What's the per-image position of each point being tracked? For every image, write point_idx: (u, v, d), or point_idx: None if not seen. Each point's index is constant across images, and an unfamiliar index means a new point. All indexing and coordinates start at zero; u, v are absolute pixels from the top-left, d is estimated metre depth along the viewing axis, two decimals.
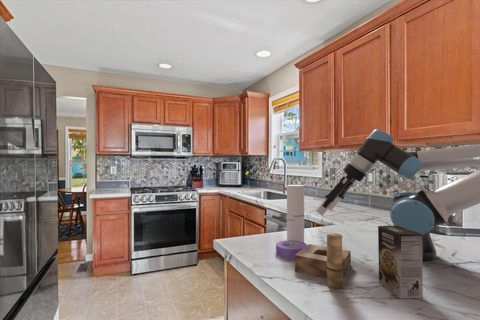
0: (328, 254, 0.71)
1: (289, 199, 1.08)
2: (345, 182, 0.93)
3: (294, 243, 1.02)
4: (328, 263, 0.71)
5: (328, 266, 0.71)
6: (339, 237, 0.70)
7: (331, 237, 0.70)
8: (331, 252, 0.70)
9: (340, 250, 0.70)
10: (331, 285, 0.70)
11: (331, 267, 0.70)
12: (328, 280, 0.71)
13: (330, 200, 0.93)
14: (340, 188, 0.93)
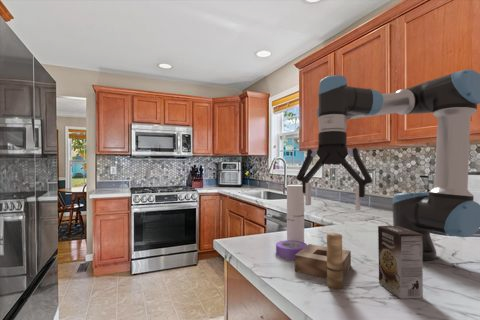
0: (328, 254, 0.71)
1: (289, 199, 1.08)
2: None
3: (294, 243, 1.02)
4: (328, 263, 0.71)
5: (328, 266, 0.71)
6: (339, 237, 0.70)
7: (331, 237, 0.70)
8: (331, 252, 0.70)
9: (340, 250, 0.70)
10: (331, 285, 0.70)
11: (331, 267, 0.70)
12: (328, 280, 0.71)
13: None
14: (362, 162, 0.70)
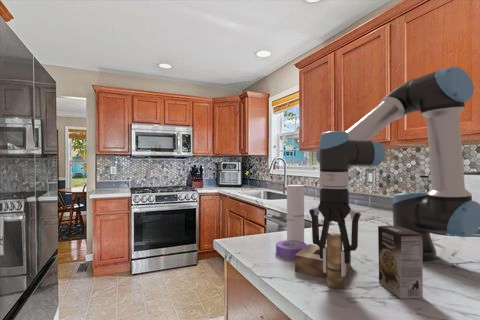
0: (328, 254, 0.71)
1: (289, 199, 1.08)
2: None
3: (294, 243, 1.02)
4: (328, 263, 0.71)
5: (328, 266, 0.71)
6: (339, 237, 0.70)
7: (331, 237, 0.70)
8: (331, 252, 0.70)
9: (340, 250, 0.70)
10: (331, 285, 0.70)
11: (331, 267, 0.70)
12: (328, 280, 0.71)
13: None
14: (357, 228, 0.69)
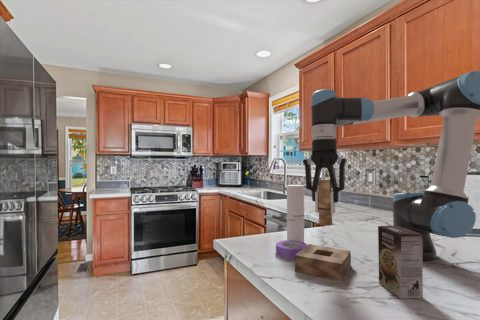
0: (319, 196, 0.82)
1: (289, 199, 1.08)
2: (345, 163, 0.81)
3: (294, 243, 1.02)
4: (319, 204, 0.82)
5: (319, 206, 0.82)
6: (329, 180, 0.81)
7: (322, 181, 0.82)
8: (322, 194, 0.82)
9: (329, 192, 0.81)
10: (322, 222, 0.81)
11: (322, 206, 0.81)
12: (320, 218, 0.82)
13: (341, 190, 0.81)
14: (344, 172, 0.81)
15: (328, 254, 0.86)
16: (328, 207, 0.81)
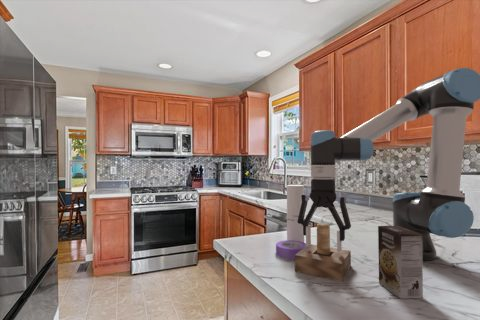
0: (318, 241, 0.84)
1: (289, 199, 1.08)
2: (345, 201, 0.81)
3: (294, 243, 1.02)
4: (318, 249, 0.83)
5: (318, 251, 0.83)
6: (327, 226, 0.82)
7: (320, 227, 0.83)
8: (320, 239, 0.83)
9: (328, 237, 0.82)
10: None
11: (320, 252, 0.83)
12: None
13: None
14: (346, 210, 0.81)
15: None
16: (326, 253, 0.82)
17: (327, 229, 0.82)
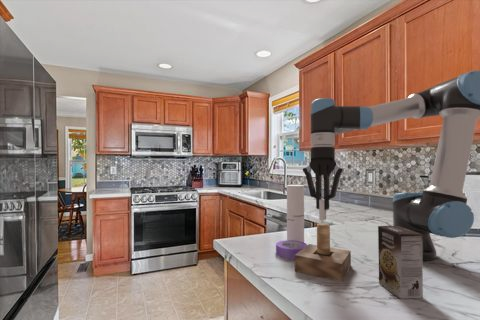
0: (318, 241, 0.84)
1: (289, 199, 1.08)
2: (341, 173, 0.82)
3: (294, 243, 1.02)
4: (318, 249, 0.83)
5: (318, 251, 0.83)
6: (327, 226, 0.82)
7: (320, 227, 0.83)
8: (320, 239, 0.83)
9: (328, 238, 0.82)
10: None
11: (320, 252, 0.83)
12: None
13: None
14: (338, 181, 0.83)
15: None
16: (326, 253, 0.82)
17: (327, 229, 0.82)
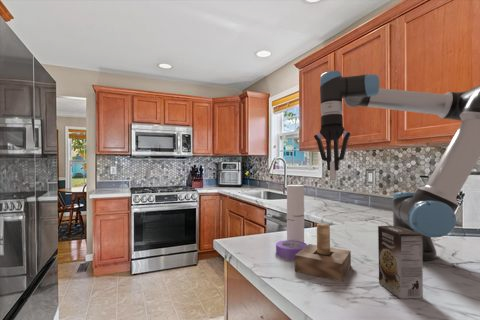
0: (318, 241, 0.84)
1: (289, 199, 1.08)
2: (349, 137, 0.92)
3: (294, 243, 1.02)
4: (318, 249, 0.83)
5: (318, 251, 0.83)
6: (327, 226, 0.82)
7: (320, 227, 0.83)
8: (320, 239, 0.83)
9: (328, 237, 0.82)
10: None
11: (320, 252, 0.83)
12: None
13: (341, 159, 0.94)
14: (346, 144, 0.93)
15: None
16: (326, 253, 0.82)
17: (327, 229, 0.82)
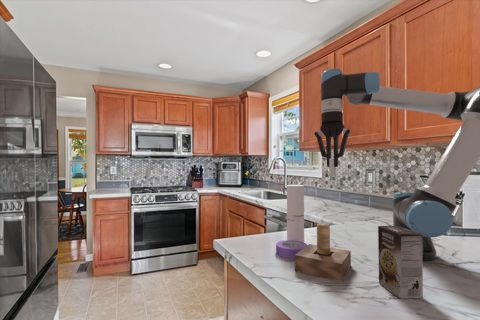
0: (318, 241, 0.84)
1: (289, 199, 1.08)
2: (349, 134, 0.93)
3: (294, 243, 1.02)
4: (318, 249, 0.83)
5: (318, 251, 0.83)
6: (327, 226, 0.82)
7: (320, 227, 0.83)
8: (320, 239, 0.83)
9: (328, 237, 0.82)
10: None
11: (320, 252, 0.83)
12: None
13: (341, 156, 0.95)
14: (346, 141, 0.94)
15: None
16: (326, 253, 0.82)
17: (327, 229, 0.82)
